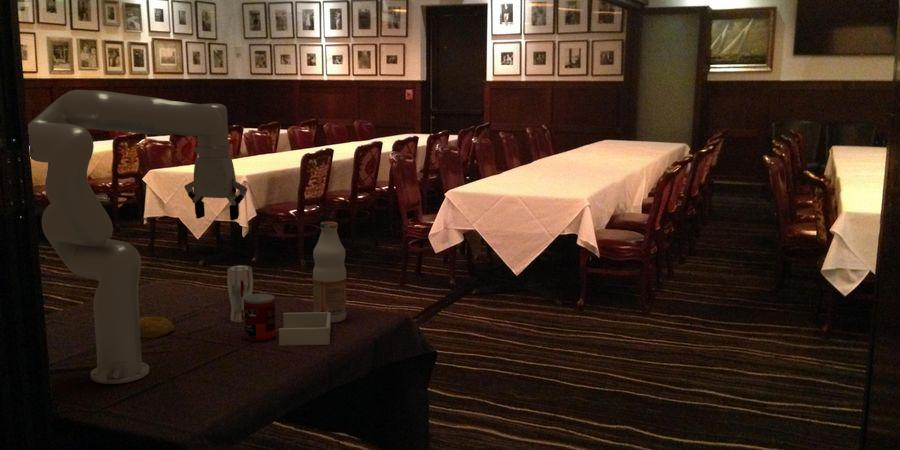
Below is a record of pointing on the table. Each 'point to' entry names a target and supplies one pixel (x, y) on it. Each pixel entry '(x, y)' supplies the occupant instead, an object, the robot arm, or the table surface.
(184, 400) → the table surface
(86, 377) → the table surface
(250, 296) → the canned food
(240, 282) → the beer glass
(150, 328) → the bagel
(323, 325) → the box
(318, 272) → the fruit juice
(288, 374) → the table surface
